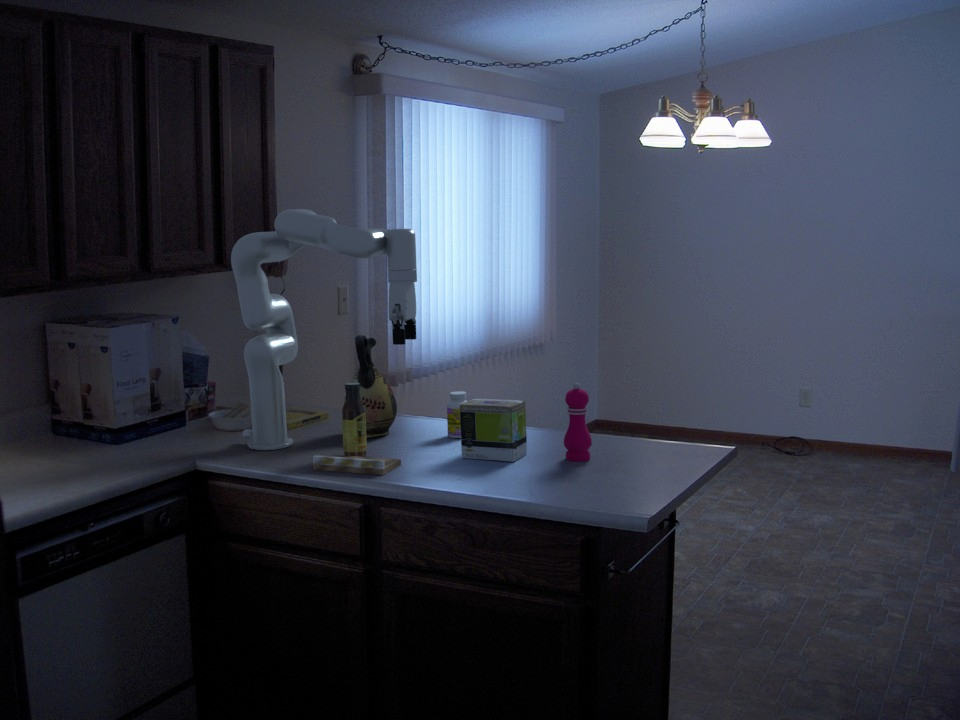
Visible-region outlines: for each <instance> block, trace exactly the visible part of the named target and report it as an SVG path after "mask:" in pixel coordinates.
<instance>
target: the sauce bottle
mask: <svg viewBox="0 0 960 720" xmlns="http://www.w3.org/2000/svg"><path fill="white" fill-rule="evenodd" d="M344 390H345V395H346V402H345V404H344V403H343V406H342V408H341V409H342V410H341V413H342V414H341V415H342V418H341V424H342V426H341V428H342V429H341V430H342V448H343V450H342V451H343V455H345V456H359V457H367V450H368V447H367V446H368V445H367V438H366V416H365V410H364V408H363V405H362V403H361V400H360V383H351V382H346V383H345V384H344Z"/></svg>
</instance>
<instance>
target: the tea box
mask: <svg viewBox="0 0 960 720" xmlns="http://www.w3.org/2000/svg"><path fill="white" fill-rule="evenodd" d="M467 401H468V402H465V403H463V404H460V426H461V439H460V444H461V445H460V446H461V458H462V459H471V460H486V461H499V462H512V463H513V462H515V461H517V460H520V459H521V458H523V457H524V456H526V455H527V454H528V453H527V450H528V444H527V443H528V442H527V441H528V440H527V438H528V436H527V414H526V413H527V412H526V400H525V399H524V400H523V399H503V398H499V399H498V398H479V397H478V398H473V399H471V400H467Z"/></svg>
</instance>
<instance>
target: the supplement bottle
mask: <svg viewBox="0 0 960 720" xmlns="http://www.w3.org/2000/svg"><path fill="white" fill-rule="evenodd" d="M449 398H450V400H449V401H448V402H447V404H446V420H447V421H446V423H447V424H446V425H447V436H448V437H449V438H451V439H455V438H461V426H460V404H463V403H465V402H468V401H469V400H466V398H467V392H466V391H463V390H462V391H459V390H458V391H451V392H450V393H449Z"/></svg>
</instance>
